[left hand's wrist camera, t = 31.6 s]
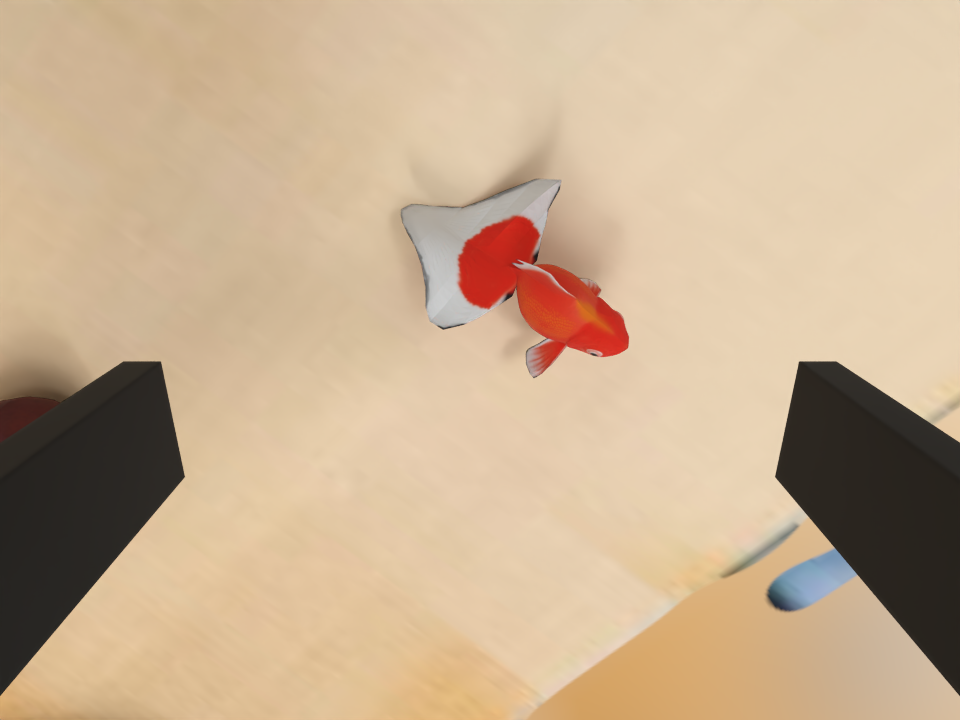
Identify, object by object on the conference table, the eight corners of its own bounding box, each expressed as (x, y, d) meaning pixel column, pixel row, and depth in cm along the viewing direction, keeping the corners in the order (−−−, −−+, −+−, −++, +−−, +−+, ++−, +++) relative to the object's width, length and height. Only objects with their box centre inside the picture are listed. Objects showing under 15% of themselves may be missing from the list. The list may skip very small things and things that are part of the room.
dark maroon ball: (-14, 427, 45) (-98, 478, 39) (39, 359, 43) (-40, 401, 37) (73, 486, 47) (6, 544, 40) (127, 423, 45) (67, 474, 38)
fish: (519, 439, 40) (527, 427, 30) (379, 267, 43) (345, 206, 33) (639, 340, 41) (684, 298, 31) (496, 179, 44) (496, 93, 34)
